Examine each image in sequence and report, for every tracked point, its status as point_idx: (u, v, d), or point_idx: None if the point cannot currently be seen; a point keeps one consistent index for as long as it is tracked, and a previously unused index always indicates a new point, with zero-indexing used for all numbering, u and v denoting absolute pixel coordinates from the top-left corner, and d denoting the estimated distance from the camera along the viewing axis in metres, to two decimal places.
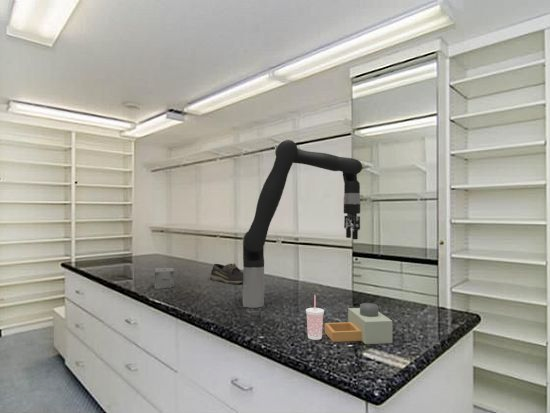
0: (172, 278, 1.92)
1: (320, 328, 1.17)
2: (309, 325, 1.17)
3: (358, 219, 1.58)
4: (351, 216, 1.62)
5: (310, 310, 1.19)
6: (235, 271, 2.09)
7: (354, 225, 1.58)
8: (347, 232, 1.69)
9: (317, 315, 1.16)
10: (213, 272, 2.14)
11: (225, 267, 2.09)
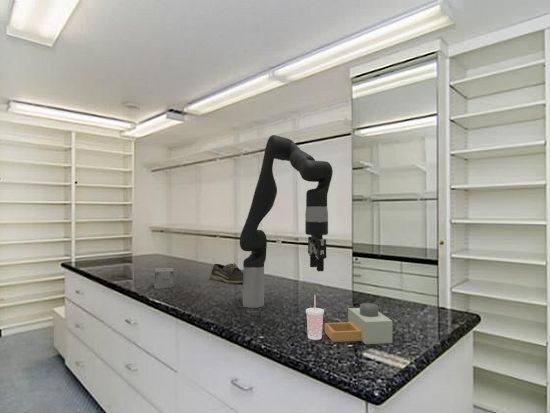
0: (172, 278, 1.92)
1: (320, 328, 1.17)
2: (309, 325, 1.17)
3: (324, 243, 1.13)
4: (315, 239, 1.17)
5: (310, 310, 1.19)
6: (235, 271, 2.09)
7: (318, 252, 1.13)
8: (311, 259, 1.23)
9: (317, 315, 1.16)
10: (213, 272, 2.15)
11: (225, 267, 2.10)
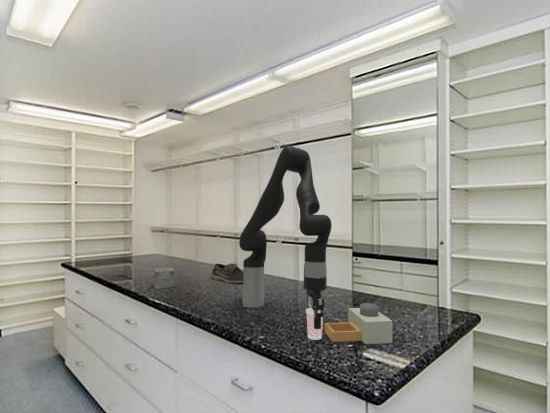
0: (172, 278, 1.92)
1: None
2: (309, 325, 1.17)
3: (321, 304, 1.12)
4: (313, 294, 1.16)
5: (310, 310, 1.19)
6: (236, 271, 2.10)
7: (315, 311, 1.13)
8: None
9: None
10: (214, 272, 2.16)
11: (226, 267, 2.11)
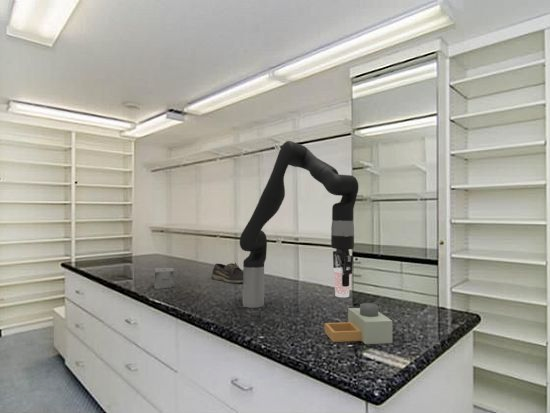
0: (172, 278, 1.92)
1: (348, 286, 1.18)
2: (337, 283, 1.19)
3: (350, 260, 1.14)
4: (341, 252, 1.18)
5: (337, 269, 1.20)
6: (236, 271, 2.10)
7: (344, 268, 1.14)
8: None
9: None
10: (214, 272, 2.16)
11: (226, 267, 2.11)
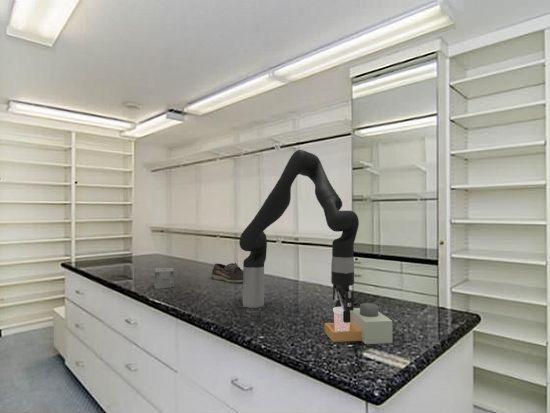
0: (172, 278, 1.92)
1: (348, 327, 1.18)
2: (337, 324, 1.19)
3: (351, 296, 1.13)
4: (341, 289, 1.18)
5: (337, 309, 1.20)
6: (237, 270, 2.11)
7: (345, 304, 1.13)
8: None
9: None
10: (214, 272, 2.16)
11: (227, 266, 2.11)
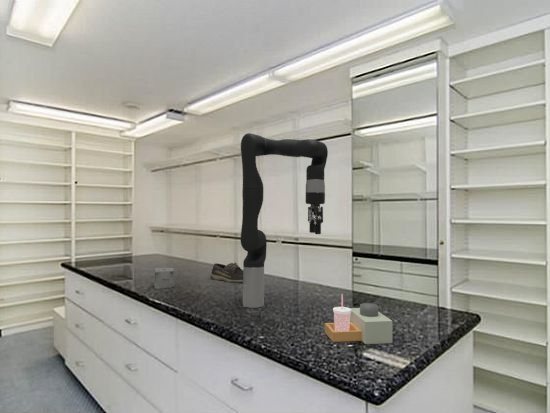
0: (172, 278, 1.92)
1: (348, 327, 1.18)
2: (337, 324, 1.19)
3: (321, 210, 1.33)
4: (313, 207, 1.37)
5: (337, 309, 1.20)
6: (237, 270, 2.12)
7: (316, 217, 1.33)
8: (310, 226, 1.43)
9: (345, 314, 1.18)
10: (214, 272, 2.16)
11: (227, 266, 2.12)
